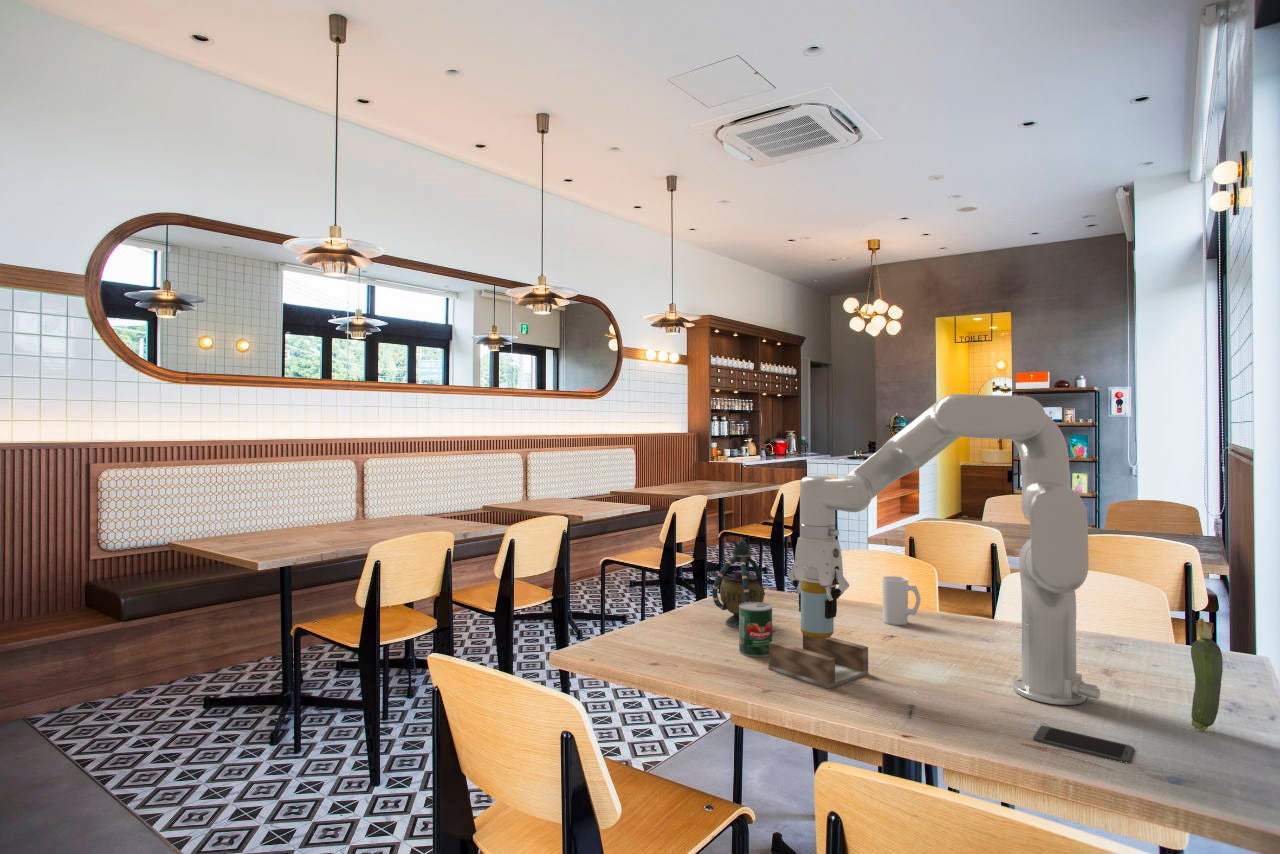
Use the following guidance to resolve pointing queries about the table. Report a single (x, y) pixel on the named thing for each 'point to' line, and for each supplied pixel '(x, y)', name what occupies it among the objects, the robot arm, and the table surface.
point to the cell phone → (1084, 744)
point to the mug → (897, 600)
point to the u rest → (820, 660)
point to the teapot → (738, 584)
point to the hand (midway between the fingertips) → (817, 613)
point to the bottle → (814, 607)
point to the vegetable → (1206, 678)
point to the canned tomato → (755, 628)
